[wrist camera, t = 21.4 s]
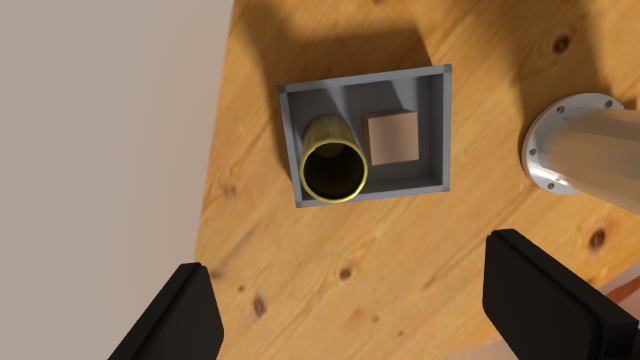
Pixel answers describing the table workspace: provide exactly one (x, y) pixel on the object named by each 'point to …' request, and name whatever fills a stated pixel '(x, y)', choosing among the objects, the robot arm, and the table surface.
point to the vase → (331, 160)
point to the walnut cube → (390, 136)
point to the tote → (367, 97)
